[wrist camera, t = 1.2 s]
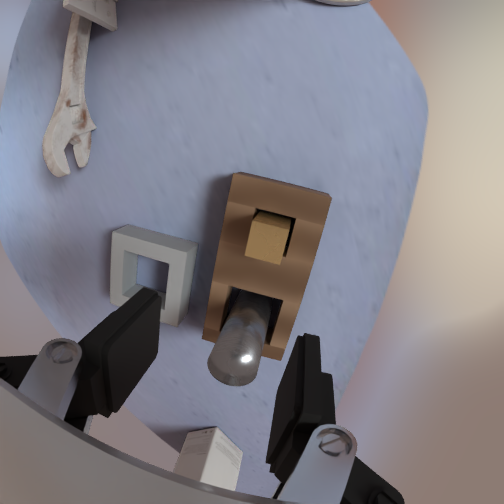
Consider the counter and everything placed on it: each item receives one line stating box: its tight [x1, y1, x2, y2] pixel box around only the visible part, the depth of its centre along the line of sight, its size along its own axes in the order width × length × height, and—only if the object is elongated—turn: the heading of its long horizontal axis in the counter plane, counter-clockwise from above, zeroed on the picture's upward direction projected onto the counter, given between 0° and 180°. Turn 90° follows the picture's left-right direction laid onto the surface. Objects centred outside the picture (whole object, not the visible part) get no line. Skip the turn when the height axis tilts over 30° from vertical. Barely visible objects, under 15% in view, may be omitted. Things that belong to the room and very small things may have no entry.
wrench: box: [42, 12, 96, 177], centre depth 26 cm, size 8×2×30 cm
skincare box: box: [173, 427, 243, 491], centre depth 36 cm, size 8×7×16 cm
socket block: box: [202, 172, 332, 361], centre depth 31 cm, size 18×9×4 cm, turn 167°
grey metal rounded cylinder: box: [207, 289, 273, 386], centre depth 28 cm, size 4×4×12 cm
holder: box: [110, 225, 198, 327], centre depth 33 cm, size 9×9×4 cm
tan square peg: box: [245, 211, 291, 265], centre depth 27 cm, size 3×3×5 cm
